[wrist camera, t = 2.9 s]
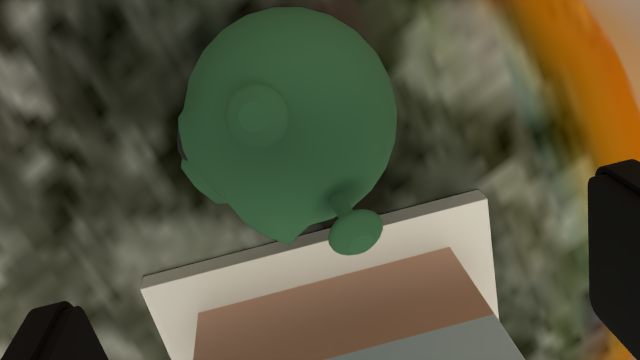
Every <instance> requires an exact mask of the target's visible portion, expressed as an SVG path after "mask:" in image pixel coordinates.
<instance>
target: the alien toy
mask: <svg viewBox="0 0 640 360" xmlns="http://www.w3.org/2000/svg"><path fill="white" fill-rule="evenodd" d="M178 125H179V127H178V134H177V145H178V151H179V153H180V155H181V157H182V163H181V169H182V170H183V171H184V173H185V174H186V175H187V177H188V178H189V179H190V181H191V182H192V183H193V184H194V186H195V187H196V188H197V189H198V190H199V191H201V192H202V193H203V194H204V195H206V196H207V197H208V198H210V199H211V200H212V201H213V202H215V203H216V204H224V203H228V204H229V205H230V206H231V207H232V208H233V210H234V211H235V212H236V213H237V214H238V216H239V217H240V218H241V219H242V220H243V222H244V223H245V224H246V225H247V226H249V227H251V228H252V229H254V230H256V231H258V232H259V233H261V234H263V235H264V236H266V237H269V238H271V239H274V240H277V241H279V242H282V243H285V244H287V245H289V244H290V243H291V242H293V241H294V240H295V239H296V238H297V237H298V236H299V235H300V234H301V233H302V232H303V231H304V230H305V229H306V228H307V227H308V226H309V225H312V224H315V223H319V222H322V221H325V220H329V219H332V218H334V217H336V216H338V218H339V219H338V220H337V221H336V222H335V223H334V224H333V226H332V227H331V229H330V232H329V236H328V242H329V245H330V246H331V248H332V249H333V251H335V252H337V253H338V254H341V255H348V256H349V255H358V254H361V253H364V252H366V251H368V250H369V249H370V248H371V247H372V246H374V245H375V243H376V242H377V241H378V239H379V238H380V236H381V233H382V230H383V222H382V220H381V218H380V216H379V215H378V214H376V213H375V212H373V211H370V210H366V209H361V210H354V211H353V209H352V207H353V206H355V205H356V204H357V203H358V202H359V201H360V200H361V199H362V198H363V197H364V196H365V195H366V194H368V193H369V192H370V191H371V190H372V189H373V187H374V186H375V184H376V182H377V181H378V179H379V178H380V176H381V175H382V173H383V172H384V170H385V169H386V167H387V164H388V161H389V158H390V155H391V152H392V149H393V146H394V143H395V139H396V125H397V107H396V102H395V97H394V92H393V87H392V83H391V80H390V78H389V76H388V74H387V72H386V70H385V68H384V66H383V64H382V62H381V60H380V58H379V56H378V54H377V53H376V52H375V51H374V50H373V49H372V47H371V46H370V45H369V44H368V43H367V42H366V41H365V40H364V39H363V38H362V37H361V36H360V35H359V33H358V32H357V31H356V30H354V29H352V28H351V27H349V26H347V25H346V24H344V23H343V22H341V21H339V20H338V19H336V18H334V17H333V16H331V15H329V14H325V13H322V12H318V11H314V10H311V9H307V8H304V7H273V8H269V9H266V10H262V11H259V12H255V13H252V14H248V15H246V16H244V17H242V18H241V19H239V20H238V21H236V22H234V23H233V24H231V25H229V26H228V27H226V28H224V29H223V30H222V31H221V32H220V33H219V34H218V35H217V36H216V37H215V38H214V40H213V41H212V42H211V43H210V44H209V45H208V46H207V47H206V48H205V49H204V51H203V52H202V54H201V56H200V58H199V60H198V62H197V64H196V66H195V68H194V70H193V72H192V74H191V76H190V78H189V83H188V88H187V93H186V98H185V104H184V109H183V111H182V112H181V114H180V116H179V117H178Z"/></svg>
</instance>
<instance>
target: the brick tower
mask: <svg viewBox="0 0 640 360" xmlns="http://www.w3.org/2000/svg"><path fill="white" fill-rule="evenodd" d="M379 216H380V218H381V220H382V222H383V230H382V233H381V236H380V238H379V239H378V241H377V242H376V243H375V245H374V246H372V247H371V248H370V249H369V250H368V251H366V252H364V253H361V254H358V255H349V256H348V255H341V254H338V253H337V252H335V251H333V249H332V248H331V246H330V245H329V242H328V236H329V232H330V229H331V228H328V229H325V230H321V231H317V232H313V233H309V234H305V235H302V236H298V237H297V238H296V239H295V240H294V241H293V242H291V243H290V244H289V245H287V244H285V243H282V242H275V243H271V244H267V245H263V246H259V247H256V248H252V249H248V250H244V251H240V252H236V253H233V254H229V255H225V256H221V257H217V258H213V259H210V260H206V261H202V262H198V263H194V264H190V265H187V266H183V267H179V268H175V269H171V270H167V271H163V272H160V273H156V274H152V275H148V276H144V277H143V281H142V284H141V288H140V290H141V293H142V295H143V297H144V299H145V302H146V304H147V306H148V308H149V311H150V313H151V315H152V317H153V320H154V322H155V324H156V326H157V329H158V331H159V333H160V335H161V338H162V340H163V342H164V344H165V347H166V349H167V351H168V353H169V356H170V358H171V360H525V359H524V357H523V356H522V354H521V353H520V351H519V350H518V348H517V347H516V345H515V344H514V342H513V341H512V339H511V338H510V336H509V335H508V333H507V332H506V330H505V329H504V327H503V326H502V324H501V323H500V321H499V315H498V305H497V295H496V284H495V274H494V264H493V253H492V243H491V233H490V222H489V212H488V202H487V198H486V197H485V196H484V195H483V194H482V193H481V192H480V190H479V189H478V190H474V191H470V192H467V193H463V194H459V195H455V196H451V197H447V198H444V199H440V200H436V201H432V202H428V203H424V204H421V205H417V206H413V207H409V208H405V209H401V210H398V211H394V212H390V213H386V214H382V215H379Z"/></svg>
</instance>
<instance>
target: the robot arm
mask: <svg viewBox="0 0 640 360" xmlns="http://www.w3.org/2000/svg"><path fill="white" fill-rule="evenodd" d="M588 236H589V296H590V302H591V305H592V308H593V310H594V312H595V314H596V315H597V316H598V318H599V319H600V320H601V321H602V322H603V323H604V324H605V325H606V326H607V327H608V329H609V330H610V331H611V332H612V333H613V334H614V335H615V336H616V337H617V338H618V340H619V341H620V342H621V343H622V344H623V345H624V346H625V347H626V348H627V349H628V351H629V352H630V353H631V354H632V355H633V356H634V357H635V358H636V359H637V360H640V162H639V161H637V160H634V159H630V160H626V161H622V162H618V163H614V164H610V165H606V166H602V167H599V168H598V169H597V171H596V174H595V176H594V177H591V178H590V179H589V181H588ZM1 360H108V358H107V356H106V354H105V352H104V350H103V348H102V346H101V344H100V342H99V340H98V338H97V336H96V334H95V332H94V330H93V328H92V326H91V324H90V322H89V320H88V318H87V316H86V314H85V312H84V310H83V309H82V308H81V307H79V306H76V307H73V306H72V305H71V304H70V303H69V302H67V301H63V302H59V303H55V304H51V305H47V306H43V307H39V308H35V309H32V310H31V311H30V312H29V313H28V315H27V316H26V318H25V320H24V322H23V323H22V325H21V327H20V328H19V330H18V332H17V333H16V335H15V337H14V338H13V340H12V342H11V343H10V345H9V347H8V348H7V350H6V352H5V353H4V355H3V357H2V358H1Z"/></svg>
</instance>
